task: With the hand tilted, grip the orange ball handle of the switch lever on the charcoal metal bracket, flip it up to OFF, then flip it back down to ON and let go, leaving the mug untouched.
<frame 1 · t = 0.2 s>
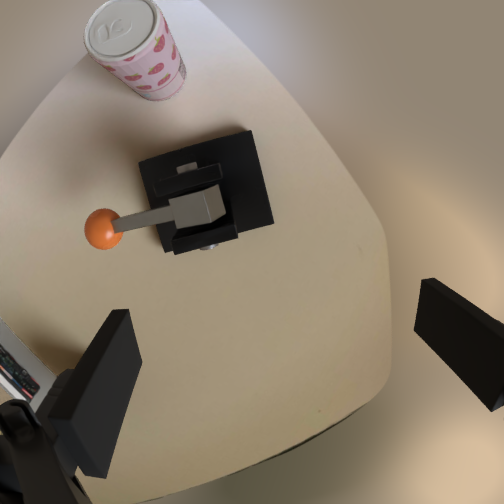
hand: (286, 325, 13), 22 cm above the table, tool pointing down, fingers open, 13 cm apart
switch lever: (142, 219, 24), point 10 cm above the table, hinge at -25.0°
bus: (13, 368, 38), on the table
beverage can: (161, 77, 30), on the table
switch bracket: (206, 190, 33), on the table
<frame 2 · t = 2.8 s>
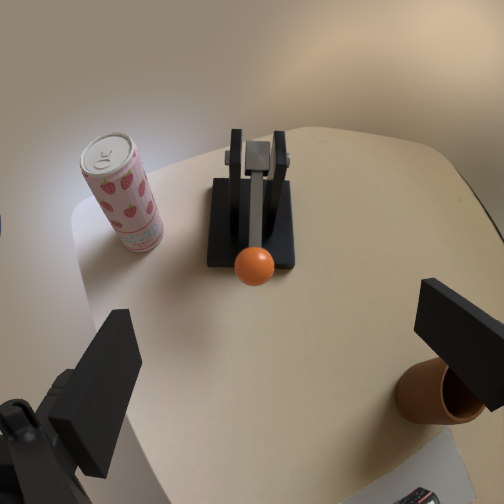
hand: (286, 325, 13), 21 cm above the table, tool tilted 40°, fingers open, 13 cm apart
switch lever: (255, 213, 29), point 10 cm above the table, hinge at -25.0°
beverage can: (143, 234, 39), on the table
mug: (433, 392, 32), on the table
switch bracket: (250, 223, 40), on the table
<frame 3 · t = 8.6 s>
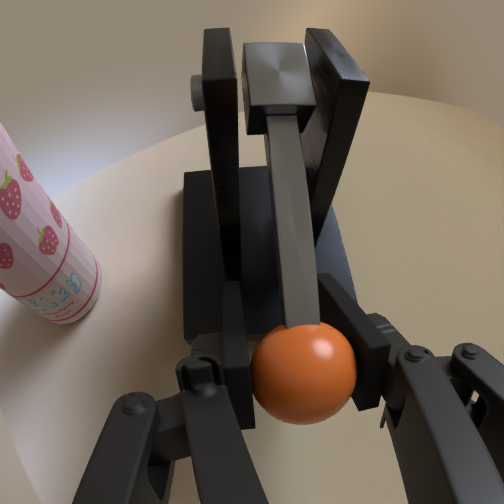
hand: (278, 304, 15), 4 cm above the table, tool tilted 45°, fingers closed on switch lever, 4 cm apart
switch lever: (292, 227, 10), point 10 cm above the table, hinge at -25.0°, touching gripper
beverage can: (70, 287, 20), on the table
switch bracket: (261, 248, 21), on the table
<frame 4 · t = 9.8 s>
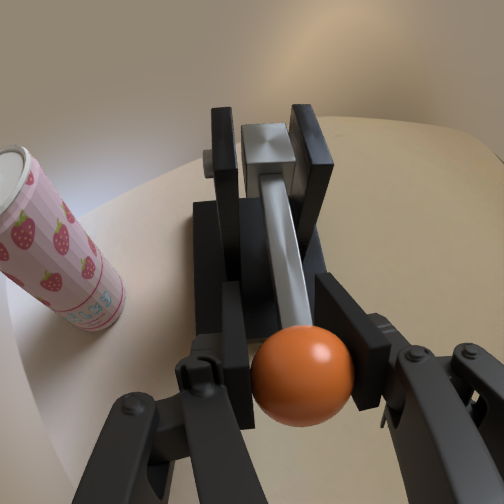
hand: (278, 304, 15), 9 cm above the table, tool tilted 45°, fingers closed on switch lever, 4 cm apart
switch lever: (283, 253, 13), point 12 cm above the table, hinge at 0.6°, touching gripper
beverage can: (97, 300, 24), on the table
switch bracket: (258, 268, 26), on the table
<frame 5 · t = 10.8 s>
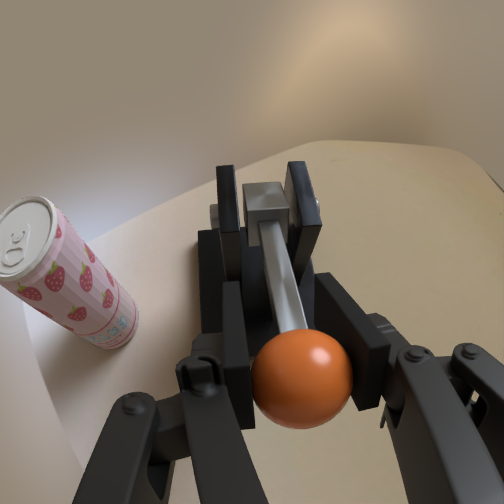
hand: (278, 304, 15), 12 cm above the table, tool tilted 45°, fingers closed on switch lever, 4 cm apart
switch lever: (280, 280, 14), point 14 cm above the table, hinge at 20.2°, touching gripper
beverage can: (112, 320, 27), on the table
switch bracket: (257, 292, 28), on the table
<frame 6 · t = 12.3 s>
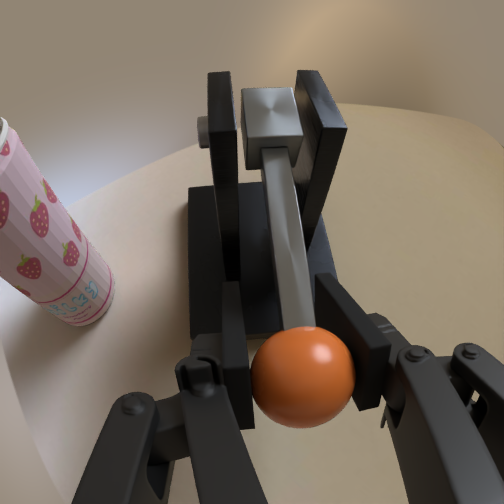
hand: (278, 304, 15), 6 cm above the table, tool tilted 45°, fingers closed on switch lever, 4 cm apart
switch lever: (286, 242, 12), point 11 cm above the table, hinge at -11.5°, touching gripper
beverage can: (85, 293, 22), on the table
switch bracket: (259, 257, 24), on the table
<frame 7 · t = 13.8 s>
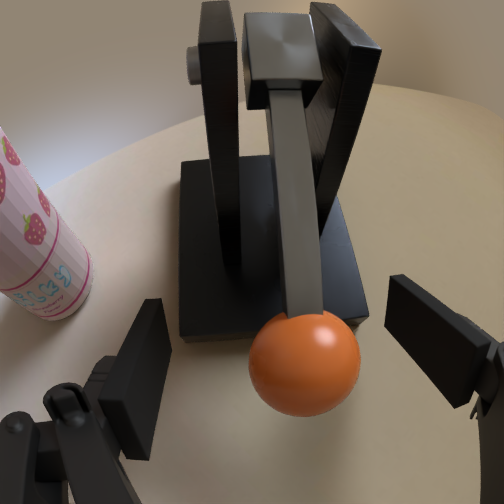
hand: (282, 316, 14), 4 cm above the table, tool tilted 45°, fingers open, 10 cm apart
switch lever: (295, 210, 10), point 9 cm above the table, hinge at -30.5°
beverage can: (61, 282, 18), on the table
switch bracket: (263, 240, 20), on the table
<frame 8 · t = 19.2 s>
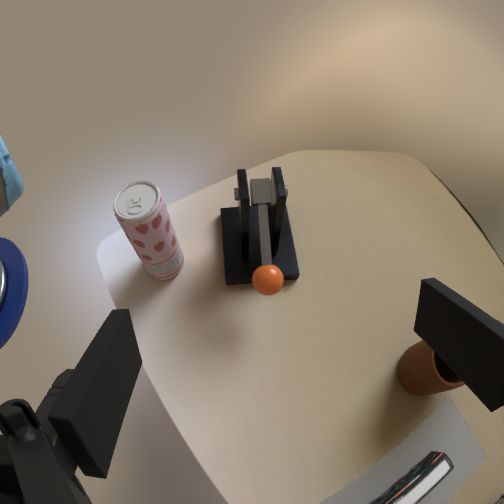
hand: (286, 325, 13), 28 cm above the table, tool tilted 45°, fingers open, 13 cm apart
switch lever: (264, 237, 37), point 9 cm above the table, hinge at -30.5°
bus: (410, 487, 30), on the table
beverage can: (165, 263, 45), on the table
mug: (431, 368, 38), on the table
switch bracket: (257, 244, 47), on the table
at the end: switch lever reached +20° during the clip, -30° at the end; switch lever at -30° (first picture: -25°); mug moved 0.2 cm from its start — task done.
